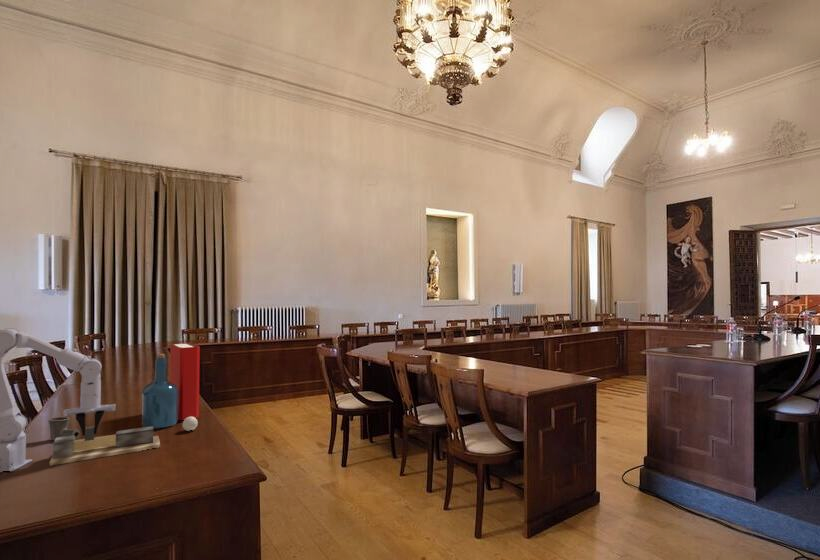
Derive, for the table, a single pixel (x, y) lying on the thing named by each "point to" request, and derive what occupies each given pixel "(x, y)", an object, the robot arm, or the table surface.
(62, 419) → the pipe
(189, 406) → the book
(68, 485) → the table surface
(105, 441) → the tan flat block
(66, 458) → the grey blocks on plank
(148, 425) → the wine bottle
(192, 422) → the white oval ball
